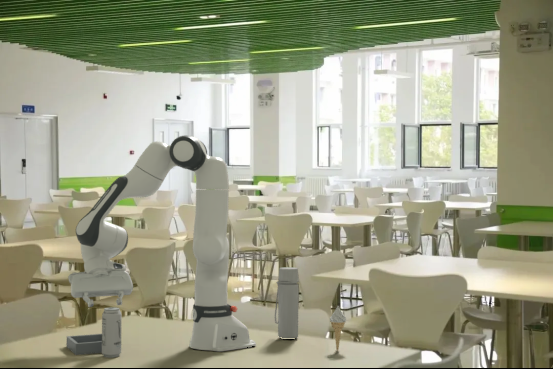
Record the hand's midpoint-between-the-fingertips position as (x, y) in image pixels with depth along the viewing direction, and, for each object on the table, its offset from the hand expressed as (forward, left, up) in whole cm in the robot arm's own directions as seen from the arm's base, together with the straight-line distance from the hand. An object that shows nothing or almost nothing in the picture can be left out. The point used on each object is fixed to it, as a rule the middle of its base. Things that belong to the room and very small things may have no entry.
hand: (105, 304), depth 260 cm
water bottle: (-64, +4, -15) cm, 66 cm away
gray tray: (+3, -5, -15) cm, 16 cm away
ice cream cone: (-70, +30, -15) cm, 78 cm away
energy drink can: (0, +8, -15) cm, 17 cm away
